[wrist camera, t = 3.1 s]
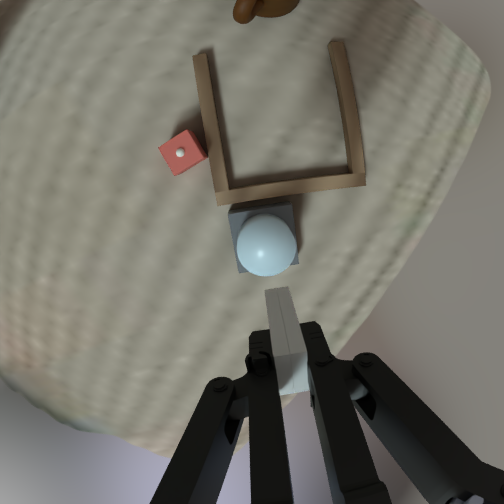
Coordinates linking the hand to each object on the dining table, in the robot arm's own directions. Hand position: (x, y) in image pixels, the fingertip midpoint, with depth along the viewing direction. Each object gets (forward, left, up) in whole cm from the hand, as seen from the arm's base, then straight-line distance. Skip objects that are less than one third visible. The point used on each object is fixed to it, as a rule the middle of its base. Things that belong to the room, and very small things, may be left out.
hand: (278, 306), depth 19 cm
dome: (0, 0, -14) cm, 14 cm away
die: (-7, +11, -16) cm, 21 cm away
